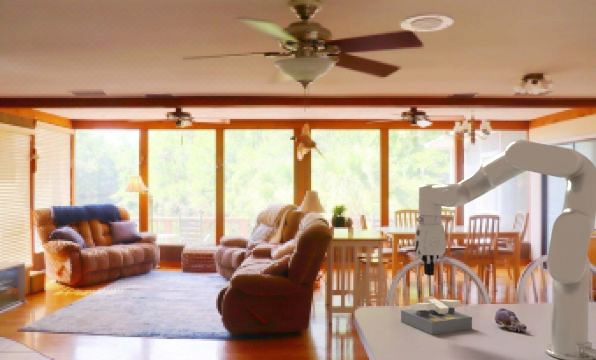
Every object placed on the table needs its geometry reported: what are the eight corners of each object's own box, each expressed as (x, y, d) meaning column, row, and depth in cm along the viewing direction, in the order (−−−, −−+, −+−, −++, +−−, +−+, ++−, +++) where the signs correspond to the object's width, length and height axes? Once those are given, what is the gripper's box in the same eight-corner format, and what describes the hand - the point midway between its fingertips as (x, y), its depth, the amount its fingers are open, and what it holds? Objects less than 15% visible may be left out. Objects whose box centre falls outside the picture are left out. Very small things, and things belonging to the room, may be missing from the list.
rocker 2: (447, 312, 178) (448, 307, 178) (439, 314, 177) (440, 308, 176) (431, 301, 186) (432, 296, 186) (423, 302, 185) (424, 296, 184)
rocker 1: (436, 308, 176) (435, 302, 176) (427, 310, 174) (426, 303, 174) (419, 308, 184) (418, 302, 184) (411, 309, 182) (410, 303, 182)
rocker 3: (461, 306, 180) (460, 300, 180) (453, 307, 179) (452, 301, 179) (444, 304, 188) (443, 299, 189) (436, 305, 187) (435, 300, 187)
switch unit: (472, 328, 177) (472, 312, 177) (431, 334, 170) (432, 318, 170) (439, 316, 193) (439, 301, 193) (401, 321, 186) (401, 306, 186)
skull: (532, 333, 172) (532, 315, 172) (511, 335, 171) (511, 316, 171) (509, 323, 184) (509, 306, 184) (490, 325, 182) (490, 307, 182)
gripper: (418, 222, 169) (417, 278, 170) (454, 221, 175) (454, 275, 176) (404, 220, 176) (404, 274, 176) (440, 219, 182) (439, 271, 183)
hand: (429, 274), depth 176 cm, fingers closed
